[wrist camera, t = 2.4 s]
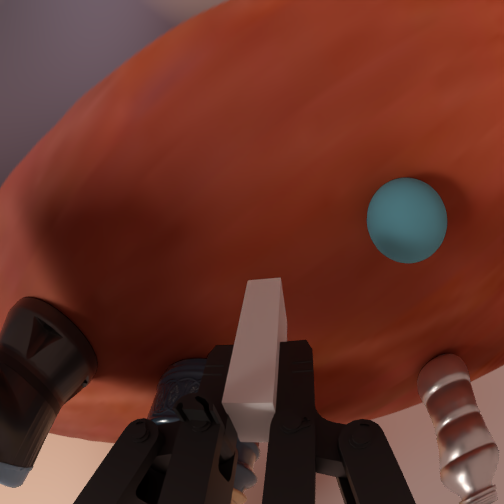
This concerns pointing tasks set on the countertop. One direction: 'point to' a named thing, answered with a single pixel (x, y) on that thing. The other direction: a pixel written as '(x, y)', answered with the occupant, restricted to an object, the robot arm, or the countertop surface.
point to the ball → (407, 220)
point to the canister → (168, 392)
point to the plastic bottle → (459, 430)
